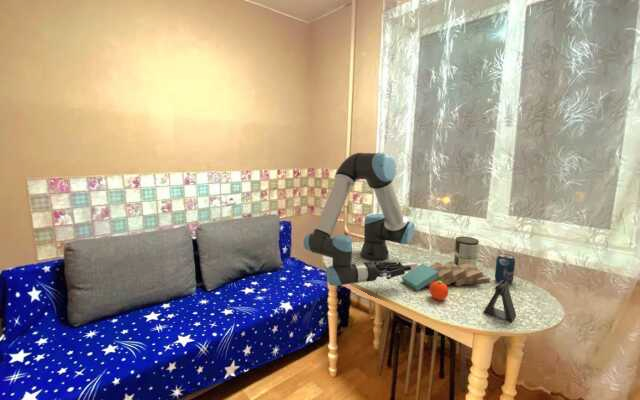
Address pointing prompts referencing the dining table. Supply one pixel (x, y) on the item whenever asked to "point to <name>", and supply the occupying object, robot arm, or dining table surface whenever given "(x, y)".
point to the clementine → (438, 290)
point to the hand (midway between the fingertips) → (415, 266)
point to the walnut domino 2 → (454, 273)
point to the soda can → (505, 268)
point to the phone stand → (507, 303)
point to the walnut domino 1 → (441, 272)
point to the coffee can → (466, 250)
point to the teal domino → (420, 277)
